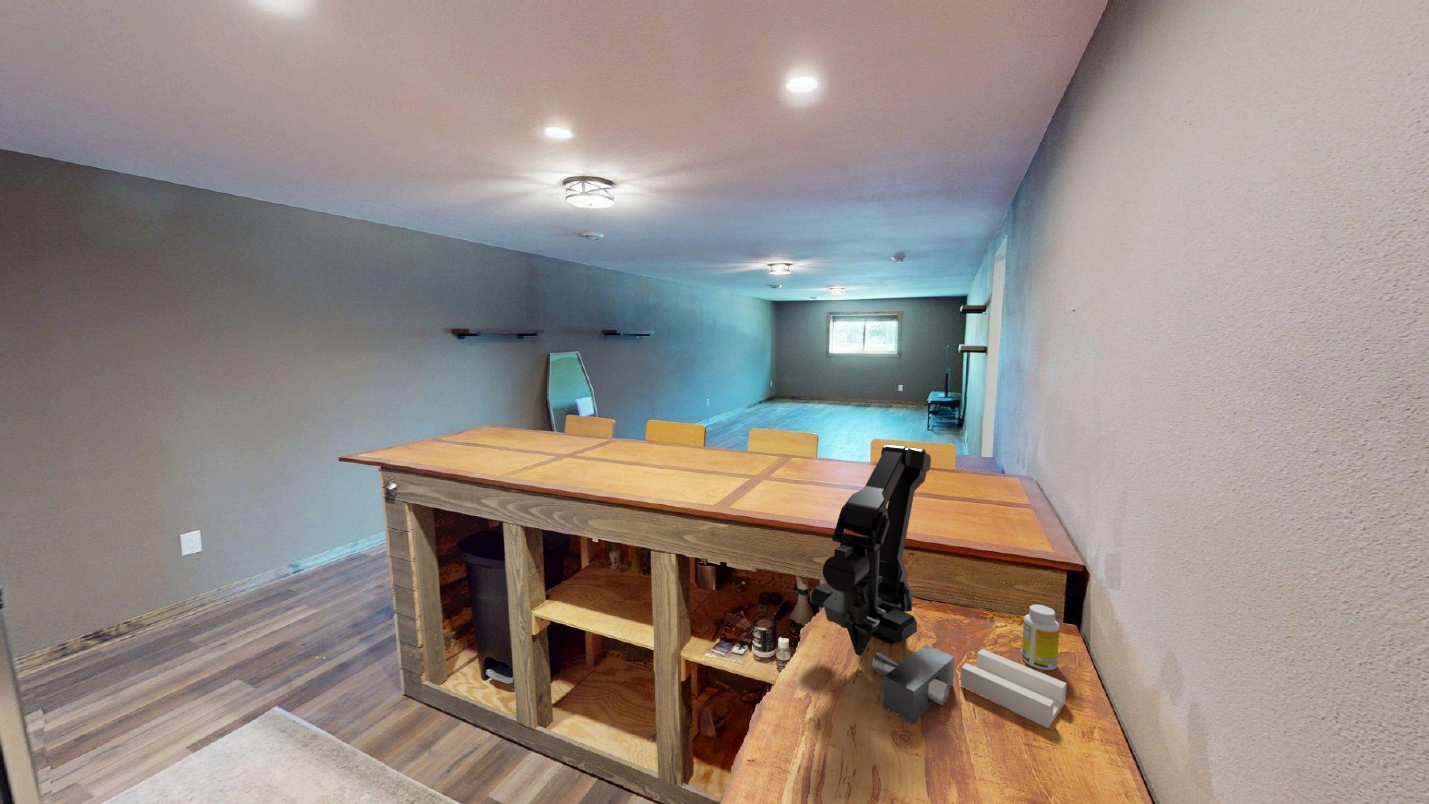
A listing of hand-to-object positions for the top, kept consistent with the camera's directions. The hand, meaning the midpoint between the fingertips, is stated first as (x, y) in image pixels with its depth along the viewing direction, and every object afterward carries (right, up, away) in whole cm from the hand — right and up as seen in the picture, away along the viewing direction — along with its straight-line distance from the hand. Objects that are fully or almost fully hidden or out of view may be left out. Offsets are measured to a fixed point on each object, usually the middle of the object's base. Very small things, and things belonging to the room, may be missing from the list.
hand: (859, 654), depth 93 cm
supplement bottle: (+34, -3, +2) cm, 34 cm away
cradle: (+23, -3, -8) cm, 25 cm away
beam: (+8, -3, -8) cm, 12 cm away
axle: (+6, 0, -7) cm, 9 cm away
